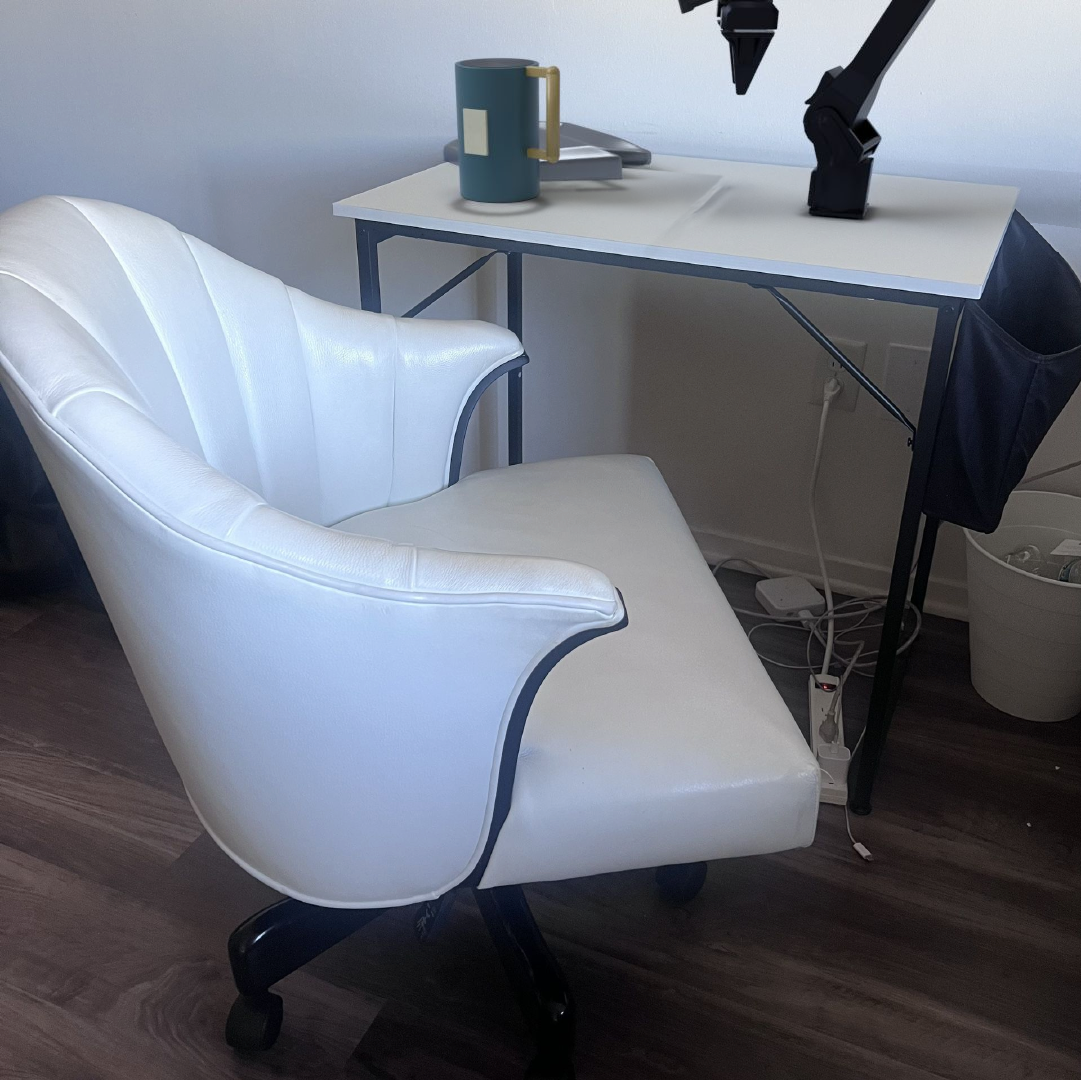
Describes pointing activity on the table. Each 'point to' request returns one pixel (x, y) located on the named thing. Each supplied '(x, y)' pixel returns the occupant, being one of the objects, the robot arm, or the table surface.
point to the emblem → (580, 154)
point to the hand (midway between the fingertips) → (738, 89)
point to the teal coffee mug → (504, 127)
